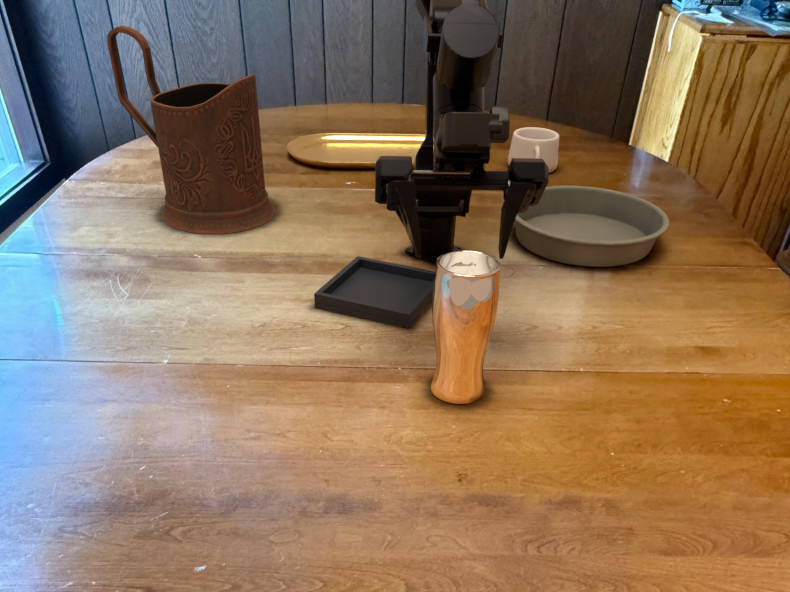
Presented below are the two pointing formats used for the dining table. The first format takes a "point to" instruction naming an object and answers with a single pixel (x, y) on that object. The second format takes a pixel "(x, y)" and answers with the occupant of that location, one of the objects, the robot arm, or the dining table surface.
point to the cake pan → (590, 226)
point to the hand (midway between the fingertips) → (460, 256)
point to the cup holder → (203, 148)
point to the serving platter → (352, 148)
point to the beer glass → (463, 322)
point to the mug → (535, 145)
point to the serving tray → (378, 291)
